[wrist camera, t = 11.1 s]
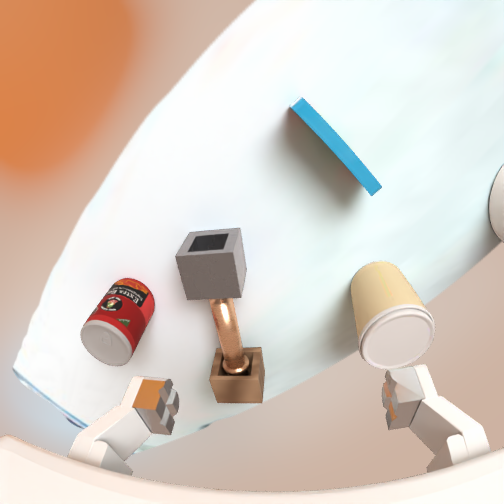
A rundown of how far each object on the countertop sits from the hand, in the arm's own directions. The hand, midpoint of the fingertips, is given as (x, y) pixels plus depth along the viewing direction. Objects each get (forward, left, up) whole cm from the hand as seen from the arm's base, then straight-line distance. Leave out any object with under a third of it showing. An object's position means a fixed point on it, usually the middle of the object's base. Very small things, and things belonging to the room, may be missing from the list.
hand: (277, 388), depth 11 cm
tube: (+9, +22, -28) cm, 36 cm away
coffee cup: (-12, +16, -29) cm, 35 cm away
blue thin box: (-6, -4, -29) cm, 30 cm away
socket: (+9, +29, -29) cm, 42 cm away
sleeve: (+9, +9, -29) cm, 32 cm away
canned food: (+24, +16, -29) cm, 41 cm away
